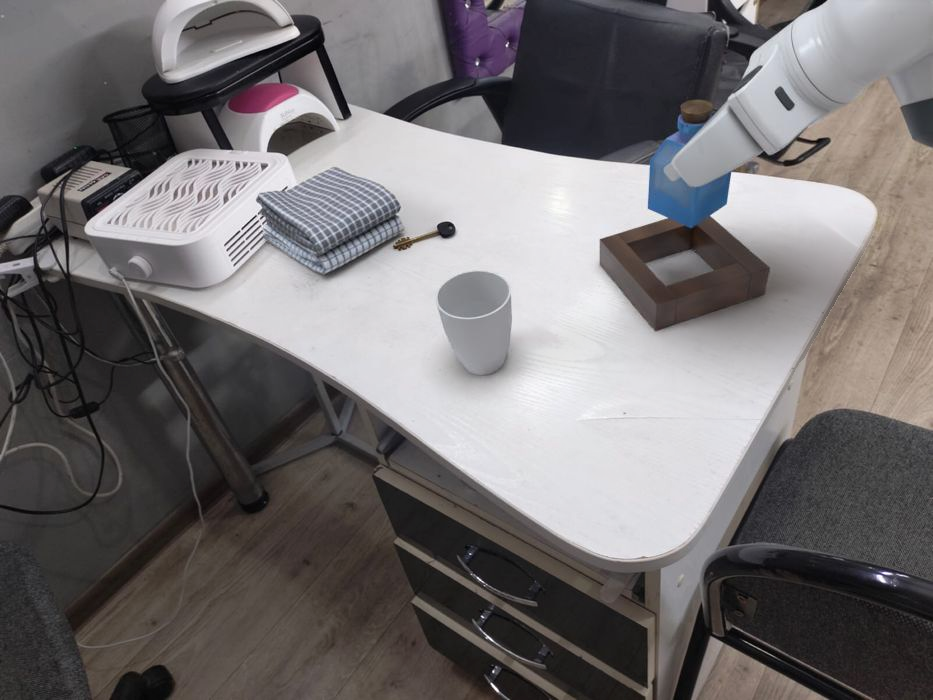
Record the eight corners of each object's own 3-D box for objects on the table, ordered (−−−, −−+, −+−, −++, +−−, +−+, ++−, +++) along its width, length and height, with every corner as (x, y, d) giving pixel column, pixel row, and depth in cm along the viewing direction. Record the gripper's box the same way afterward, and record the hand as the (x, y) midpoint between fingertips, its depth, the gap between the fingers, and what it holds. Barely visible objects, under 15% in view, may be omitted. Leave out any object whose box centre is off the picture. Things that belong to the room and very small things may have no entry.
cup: (528, 343, 81) (521, 276, 74) (502, 391, 76) (493, 324, 69) (466, 330, 84) (454, 265, 77) (437, 376, 79) (422, 311, 72)
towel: (327, 284, 94) (311, 237, 89) (261, 239, 105) (243, 194, 100) (410, 233, 101) (400, 186, 96) (340, 195, 112) (327, 151, 106)
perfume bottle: (726, 204, 78) (741, 102, 69) (691, 228, 75) (702, 126, 67) (682, 186, 82) (691, 88, 73) (647, 208, 79) (652, 110, 71)
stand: (698, 233, 92) (701, 207, 89) (764, 294, 81) (770, 267, 78) (599, 264, 90) (599, 238, 87) (654, 331, 79) (656, 304, 77)
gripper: (814, 11, 68) (708, 92, 79) (732, 98, 57) (624, 177, 69) (851, 61, 68) (741, 134, 80) (777, 156, 58) (662, 225, 70)
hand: (686, 155), depth 74 cm, fingers closed on perfume bottle, 7 cm apart
